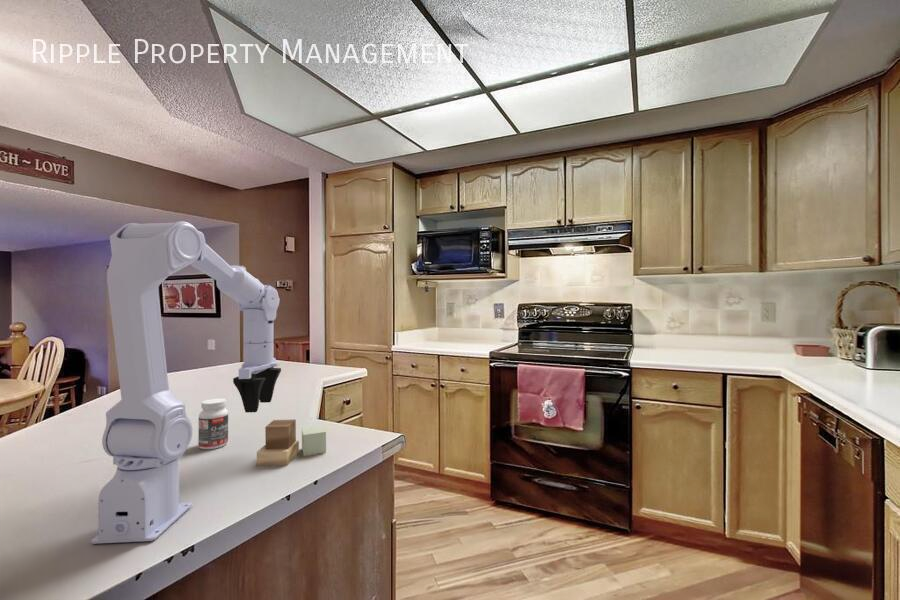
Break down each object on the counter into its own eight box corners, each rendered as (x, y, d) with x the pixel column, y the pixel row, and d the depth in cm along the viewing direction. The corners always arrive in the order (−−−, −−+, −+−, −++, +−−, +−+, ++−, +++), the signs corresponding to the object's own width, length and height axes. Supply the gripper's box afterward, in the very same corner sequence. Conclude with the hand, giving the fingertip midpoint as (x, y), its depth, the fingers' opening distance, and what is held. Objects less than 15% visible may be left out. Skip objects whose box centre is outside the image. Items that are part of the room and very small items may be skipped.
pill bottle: (214, 451, 86) (214, 404, 86) (192, 449, 87) (191, 403, 87) (234, 441, 91) (234, 398, 91) (212, 440, 92) (212, 397, 92)
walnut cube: (288, 448, 80) (288, 426, 80) (265, 449, 80) (265, 426, 79) (295, 440, 84) (295, 419, 84) (273, 441, 84) (273, 419, 84)
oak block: (287, 466, 78) (287, 451, 78) (256, 467, 78) (256, 451, 78) (298, 454, 84) (298, 440, 84) (270, 455, 84) (270, 440, 84)
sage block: (326, 453, 85) (325, 431, 85) (303, 456, 83) (303, 434, 83) (323, 445, 89) (323, 425, 89) (301, 449, 87) (301, 428, 87)
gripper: (265, 345, 77) (265, 416, 77) (289, 338, 91) (289, 397, 92) (227, 346, 76) (227, 417, 76) (257, 338, 91) (257, 398, 91)
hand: (258, 406), depth 84 cm, fingers open, 7 cm apart
